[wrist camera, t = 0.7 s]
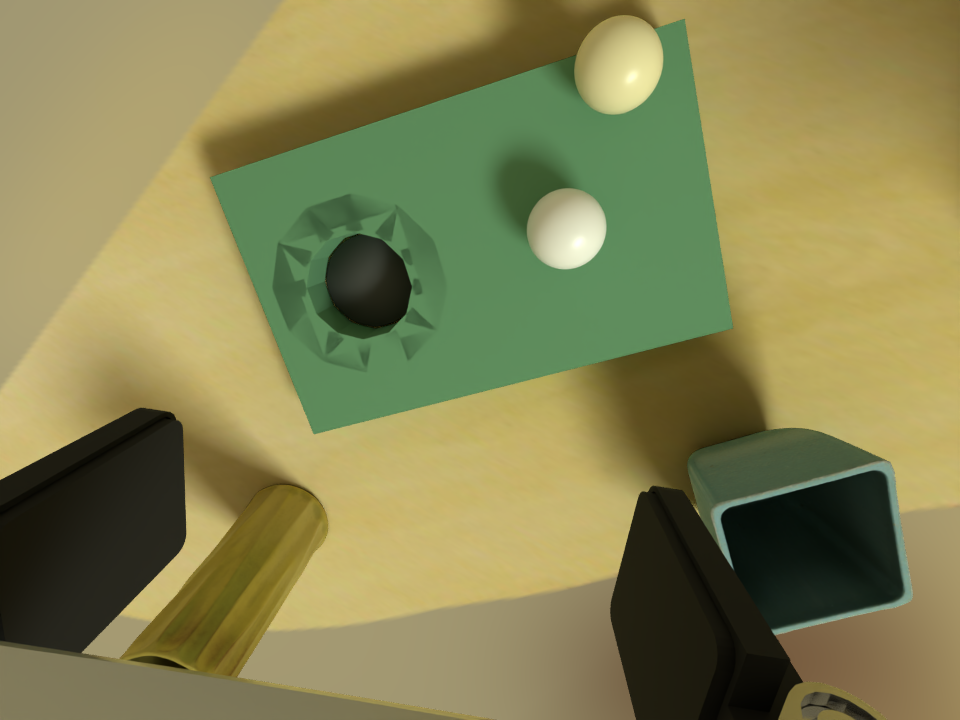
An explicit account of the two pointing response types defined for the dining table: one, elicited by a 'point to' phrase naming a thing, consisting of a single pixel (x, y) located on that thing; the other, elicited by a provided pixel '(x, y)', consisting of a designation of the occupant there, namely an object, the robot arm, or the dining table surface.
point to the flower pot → (804, 524)
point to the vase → (237, 586)
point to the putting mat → (480, 242)
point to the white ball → (566, 228)
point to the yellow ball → (618, 64)
